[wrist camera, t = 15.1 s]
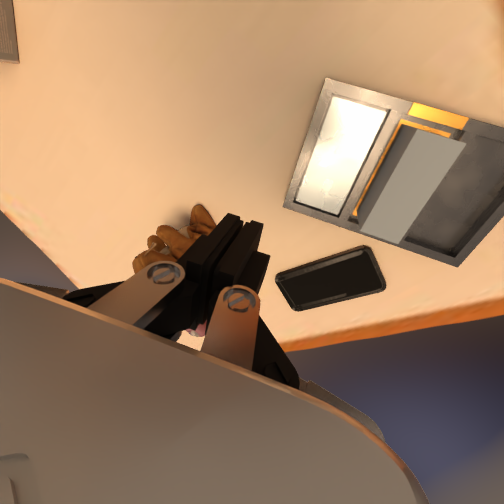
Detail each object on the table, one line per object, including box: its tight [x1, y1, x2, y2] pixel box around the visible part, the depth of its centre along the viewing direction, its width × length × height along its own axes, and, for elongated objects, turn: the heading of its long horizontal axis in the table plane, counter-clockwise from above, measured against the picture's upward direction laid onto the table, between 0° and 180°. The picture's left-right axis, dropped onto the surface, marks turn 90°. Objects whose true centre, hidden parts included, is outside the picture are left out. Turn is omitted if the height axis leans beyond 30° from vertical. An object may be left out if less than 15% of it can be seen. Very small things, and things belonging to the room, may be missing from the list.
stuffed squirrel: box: [132, 205, 216, 274], centre depth 37 cm, size 10×14×13 cm
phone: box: [275, 245, 386, 311], centre depth 39 cm, size 8×1×15 cm
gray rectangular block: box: [356, 124, 466, 244], centre depth 26 cm, size 10×4×6 cm, turn 166°
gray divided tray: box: [283, 78, 504, 267], centre depth 28 cm, size 14×22×3 cm, turn 76°
